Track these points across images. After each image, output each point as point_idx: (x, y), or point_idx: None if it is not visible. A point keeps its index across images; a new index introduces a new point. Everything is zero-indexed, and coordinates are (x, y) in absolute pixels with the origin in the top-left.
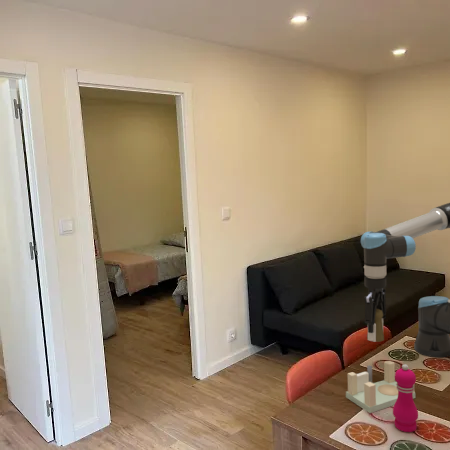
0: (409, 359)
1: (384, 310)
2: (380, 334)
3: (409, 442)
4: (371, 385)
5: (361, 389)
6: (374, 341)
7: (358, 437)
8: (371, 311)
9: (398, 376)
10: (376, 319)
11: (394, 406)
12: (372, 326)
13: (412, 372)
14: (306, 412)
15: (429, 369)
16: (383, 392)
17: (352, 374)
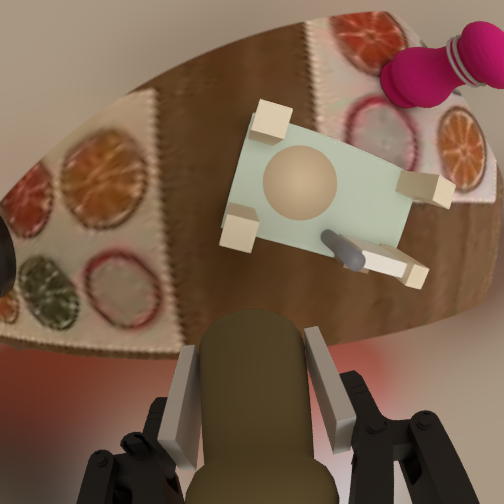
0: (52, 267)
1: (107, 487)
2: (274, 343)
3: None
4: (447, 184)
5: (367, 243)
6: (317, 329)
7: (477, 155)
8: (472, 500)
9: None
10: (311, 457)
11: (445, 99)
12: (365, 407)
13: (495, 27)
14: (462, 282)
15: (58, 192)
16: (330, 187)
17: (420, 274)
